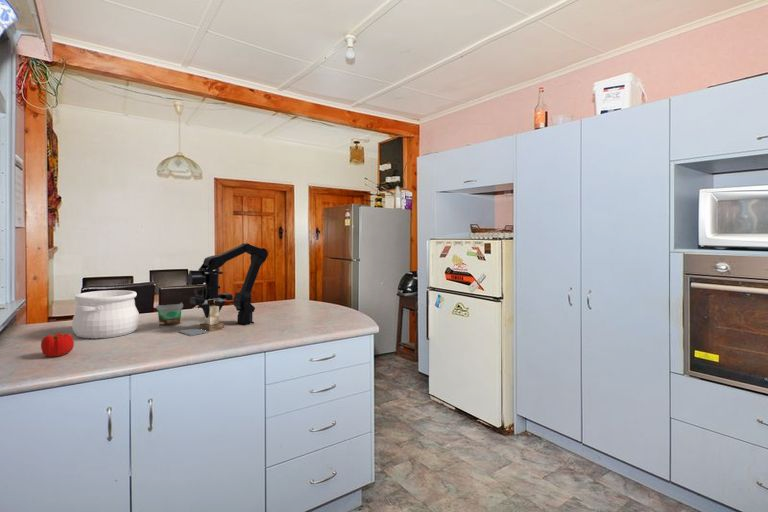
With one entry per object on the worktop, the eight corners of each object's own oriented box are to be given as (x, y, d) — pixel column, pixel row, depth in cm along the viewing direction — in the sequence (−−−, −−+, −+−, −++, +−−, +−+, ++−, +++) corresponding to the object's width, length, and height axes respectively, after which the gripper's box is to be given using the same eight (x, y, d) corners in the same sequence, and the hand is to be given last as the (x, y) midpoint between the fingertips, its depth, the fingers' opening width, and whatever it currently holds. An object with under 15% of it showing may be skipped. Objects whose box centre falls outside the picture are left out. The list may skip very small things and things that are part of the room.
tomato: (79, 351, 150) (78, 331, 149) (60, 359, 141) (60, 338, 140) (53, 351, 149) (53, 331, 149) (33, 358, 140) (32, 337, 140)
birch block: (213, 321, 191) (213, 305, 191) (218, 323, 189) (218, 306, 188) (204, 323, 188) (204, 306, 187) (210, 324, 185) (210, 307, 185)
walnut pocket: (214, 326, 194) (214, 321, 194) (224, 328, 189) (224, 323, 189) (199, 329, 187) (199, 323, 187) (208, 331, 183) (208, 326, 183)
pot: (104, 343, 161) (104, 299, 160) (55, 338, 166) (54, 296, 165) (153, 328, 187) (153, 291, 186) (109, 324, 192) (109, 288, 191)
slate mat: (195, 329, 187) (195, 327, 187) (208, 332, 182) (208, 331, 181) (178, 332, 181) (178, 331, 181) (191, 336, 175) (191, 334, 175)
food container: (162, 327, 188) (162, 306, 188) (156, 325, 192) (156, 304, 192) (188, 323, 198) (188, 303, 198) (182, 321, 202) (182, 301, 201)
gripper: (219, 280, 199) (219, 311, 200) (182, 284, 184) (183, 317, 185) (233, 282, 193) (233, 314, 194) (196, 286, 178) (196, 321, 179)
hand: (211, 316), depth 188 cm, fingers closed on birch block, 4 cm apart
